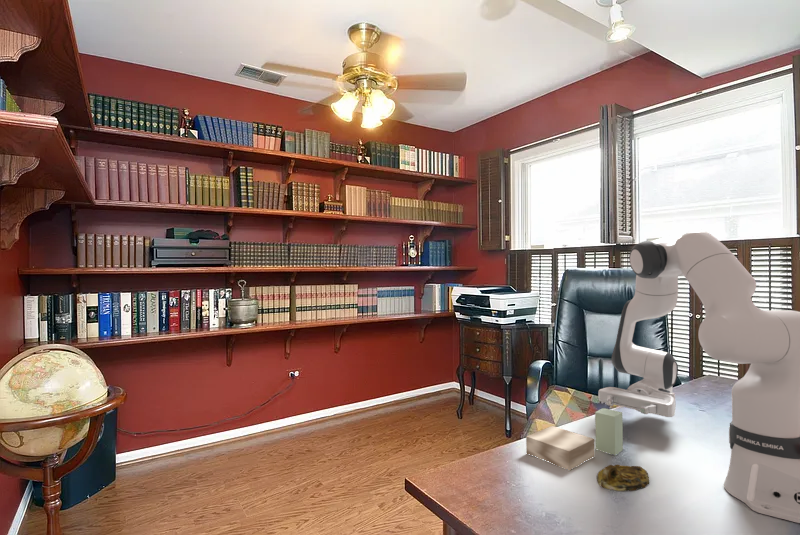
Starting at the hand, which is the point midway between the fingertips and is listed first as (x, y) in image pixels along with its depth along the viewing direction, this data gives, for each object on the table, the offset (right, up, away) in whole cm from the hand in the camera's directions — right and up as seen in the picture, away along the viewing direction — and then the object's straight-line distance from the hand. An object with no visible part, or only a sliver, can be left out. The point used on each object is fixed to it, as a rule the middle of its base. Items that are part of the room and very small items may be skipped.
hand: (625, 406), depth 121 cm
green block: (-9, -9, -9) cm, 15 cm away
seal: (-14, -9, -25) cm, 30 cm away
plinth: (-23, -9, -12) cm, 28 cm away
